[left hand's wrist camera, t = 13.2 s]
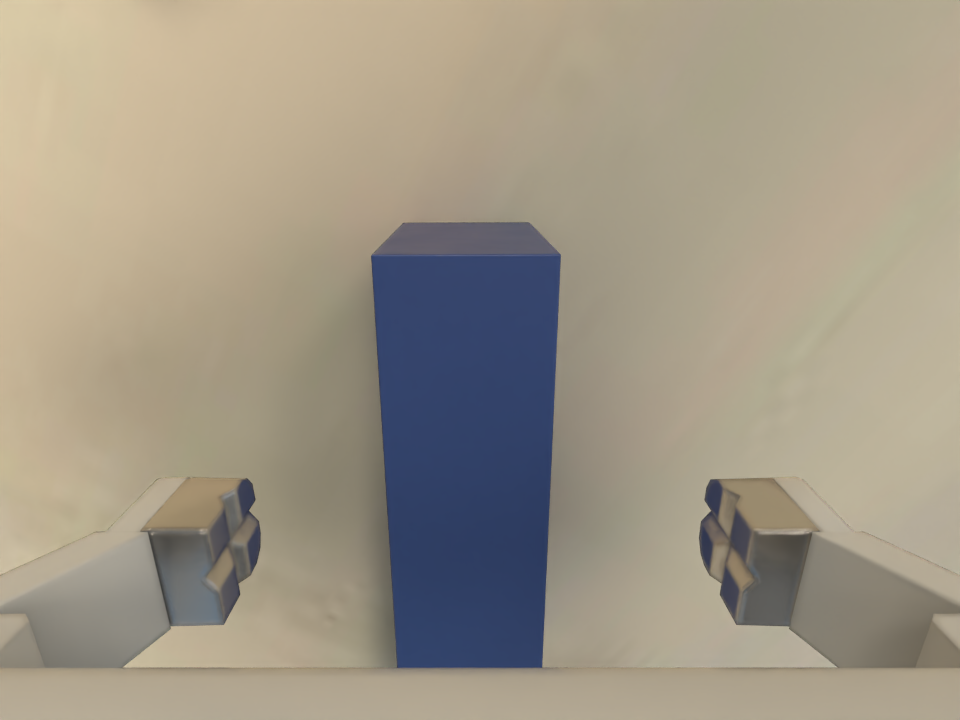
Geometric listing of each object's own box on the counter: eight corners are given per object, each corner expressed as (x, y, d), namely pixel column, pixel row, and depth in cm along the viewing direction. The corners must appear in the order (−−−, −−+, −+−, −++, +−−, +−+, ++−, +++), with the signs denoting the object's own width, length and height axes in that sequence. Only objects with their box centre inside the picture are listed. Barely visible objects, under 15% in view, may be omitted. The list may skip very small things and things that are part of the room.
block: (402, 222, 25) (370, 254, 16) (529, 222, 25) (560, 253, 17) (421, 645, 32) (406, 810, 24) (518, 643, 32) (535, 808, 24)
